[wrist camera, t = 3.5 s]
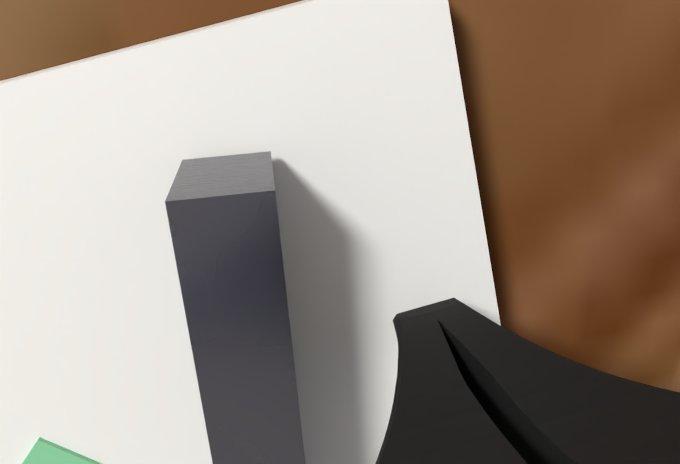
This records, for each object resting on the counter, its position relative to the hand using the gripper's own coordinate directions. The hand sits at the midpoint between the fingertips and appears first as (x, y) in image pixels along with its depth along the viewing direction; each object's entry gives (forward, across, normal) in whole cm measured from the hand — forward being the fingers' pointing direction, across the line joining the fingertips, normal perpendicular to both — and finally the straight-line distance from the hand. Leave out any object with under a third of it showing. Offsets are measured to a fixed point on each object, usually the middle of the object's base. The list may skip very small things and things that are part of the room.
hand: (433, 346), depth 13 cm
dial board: (+2, +5, +6) cm, 8 cm away
